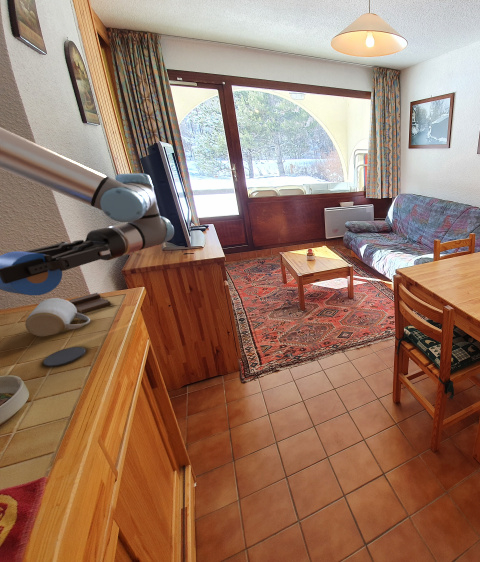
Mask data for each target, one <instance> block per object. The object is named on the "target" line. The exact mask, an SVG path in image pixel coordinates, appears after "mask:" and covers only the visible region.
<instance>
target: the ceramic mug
mask: <svg viewBox="0 0 480 562" xmlns="http://www.w3.org/2000/svg"><path fill="white" fill-rule="evenodd" d="M75 319H78V320H83V321H85V322H83V323H79V324H78V323H77V324H76V323H75V324H74V323H73V324H72V322H73V321H74V320H75ZM90 322H91V319H90V317H89V316H88V315H86V314H84V313H81V312H78V309H76V307H75V306H74V305H73V304H72V303H71V302H70V301H69V300H66V299H64V298H59V297H53V298H52V297H51V298H47V299H44V300H42V301H40V302H39V303H38V304H37V306H35V308H34V309H33V310H32V311H31V312H30V314H29V315H28V316H27V318H26V320H25V328H26V330H27V331H28V332H29V333H30V334H32V335H33V336H36V337H47V336H53V335H57V334H60V333H63V331H65V330H75V329H80V328H83V327H84V326H86V325H88V324H89V323H90Z"/></svg>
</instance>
